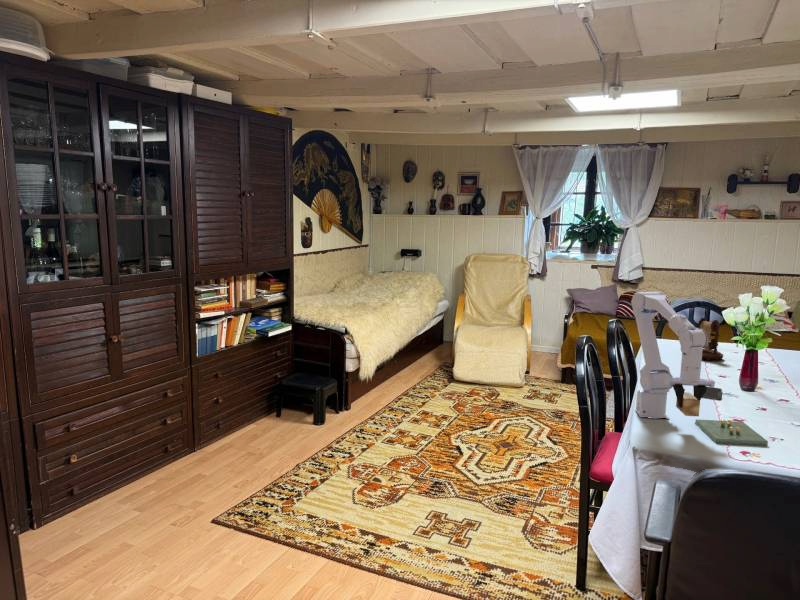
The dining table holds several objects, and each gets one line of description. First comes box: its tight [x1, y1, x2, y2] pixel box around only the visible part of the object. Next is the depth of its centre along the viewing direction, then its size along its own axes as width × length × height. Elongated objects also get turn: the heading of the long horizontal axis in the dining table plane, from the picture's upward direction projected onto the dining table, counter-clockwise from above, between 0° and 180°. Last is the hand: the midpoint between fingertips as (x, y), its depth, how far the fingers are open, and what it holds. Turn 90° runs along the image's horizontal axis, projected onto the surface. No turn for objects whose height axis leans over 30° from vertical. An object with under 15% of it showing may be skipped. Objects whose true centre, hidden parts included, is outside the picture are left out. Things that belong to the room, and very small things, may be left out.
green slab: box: [694, 418, 769, 447], centre depth 185 cm, size 15×17×4 cm
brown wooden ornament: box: [697, 317, 724, 362], centre depth 285 cm, size 15×15×20 cm
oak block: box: [675, 391, 701, 417], centre depth 186 cm, size 4×9×5 cm, turn 172°
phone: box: [701, 386, 723, 401], centre depth 228 cm, size 8×1×15 cm
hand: (687, 407), depth 186 cm, fingers closed on oak block, 4 cm apart
